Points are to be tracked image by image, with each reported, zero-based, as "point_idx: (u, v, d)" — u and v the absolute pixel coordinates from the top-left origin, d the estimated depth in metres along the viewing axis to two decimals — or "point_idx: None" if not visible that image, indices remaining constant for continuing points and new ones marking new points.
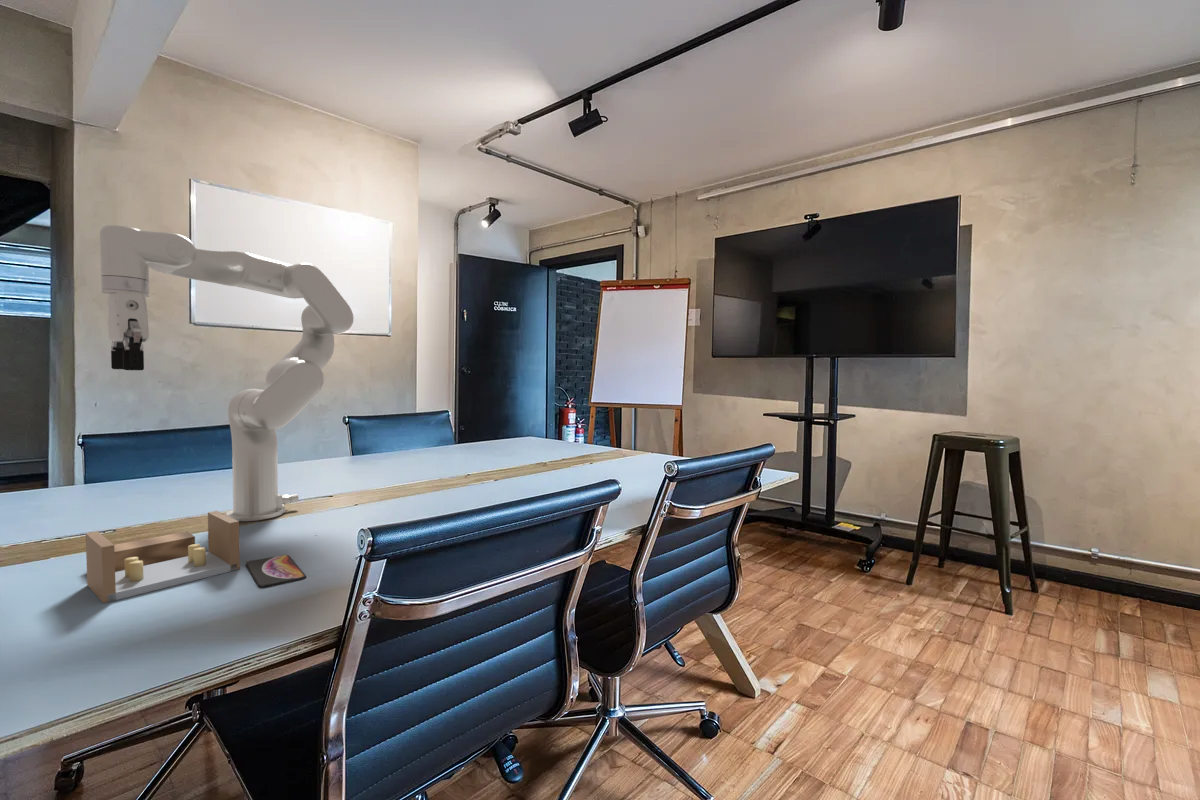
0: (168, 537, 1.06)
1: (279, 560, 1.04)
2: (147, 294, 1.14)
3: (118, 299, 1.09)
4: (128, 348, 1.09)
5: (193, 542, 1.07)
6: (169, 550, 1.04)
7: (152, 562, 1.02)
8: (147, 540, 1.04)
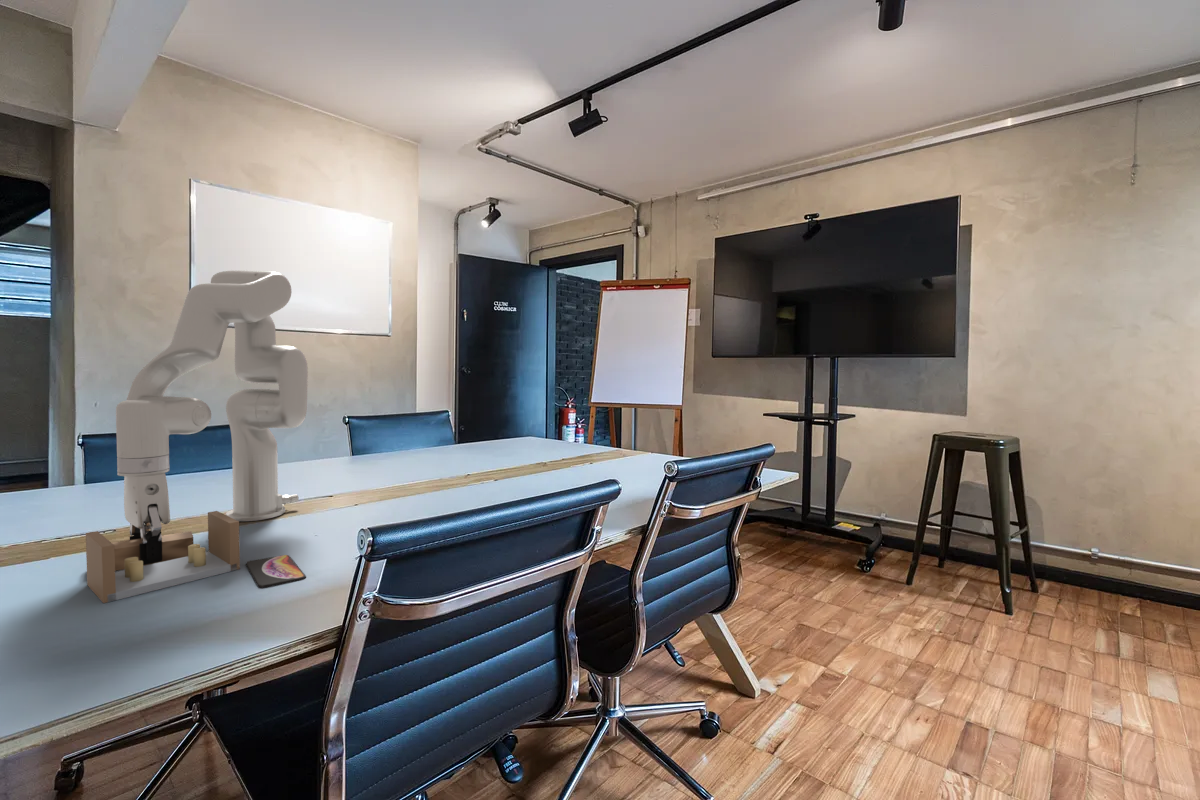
0: (169, 536, 1.06)
1: (279, 560, 1.04)
2: (167, 470, 1.03)
3: (137, 484, 0.98)
4: (145, 542, 0.99)
5: (191, 543, 1.06)
6: (167, 549, 1.03)
7: None
8: None
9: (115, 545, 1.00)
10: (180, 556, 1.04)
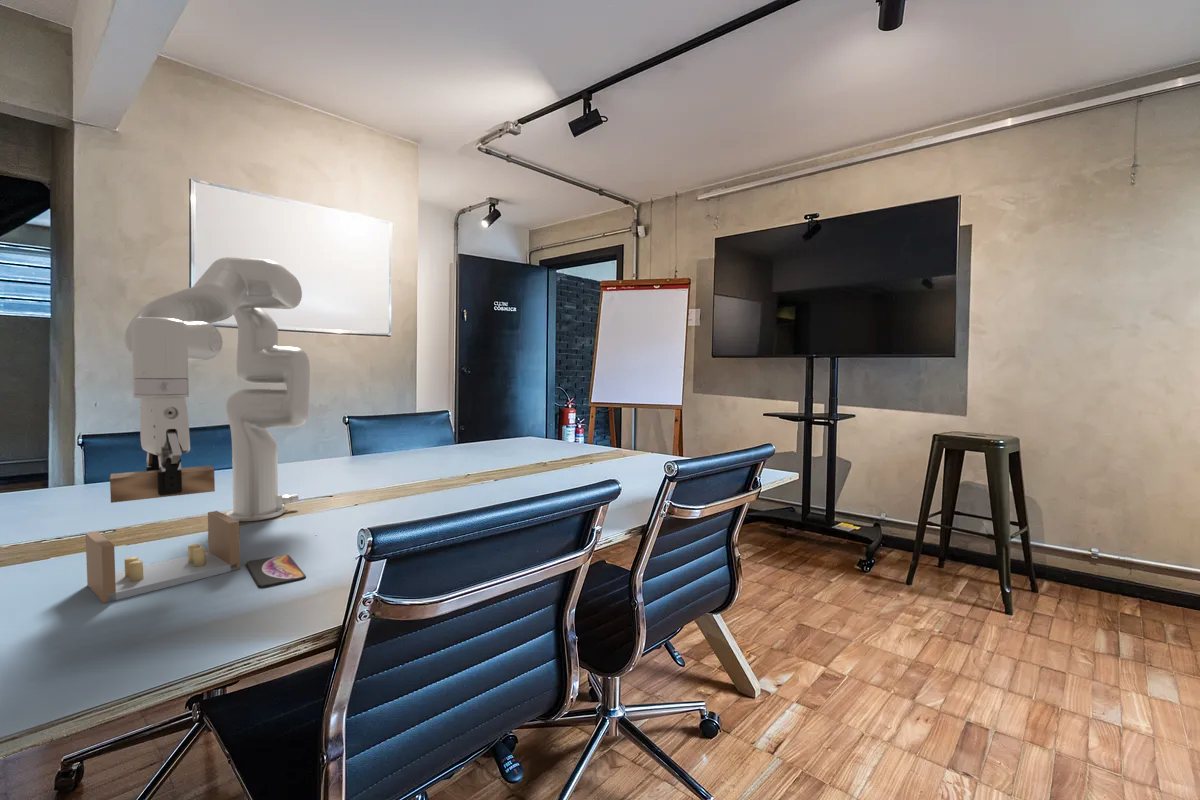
0: (188, 469, 0.98)
1: (279, 560, 1.04)
2: (187, 395, 0.96)
3: (154, 407, 0.90)
4: (164, 470, 0.92)
5: (212, 475, 0.98)
6: (186, 481, 0.95)
7: None
8: None
9: (131, 474, 0.92)
10: (200, 489, 0.97)
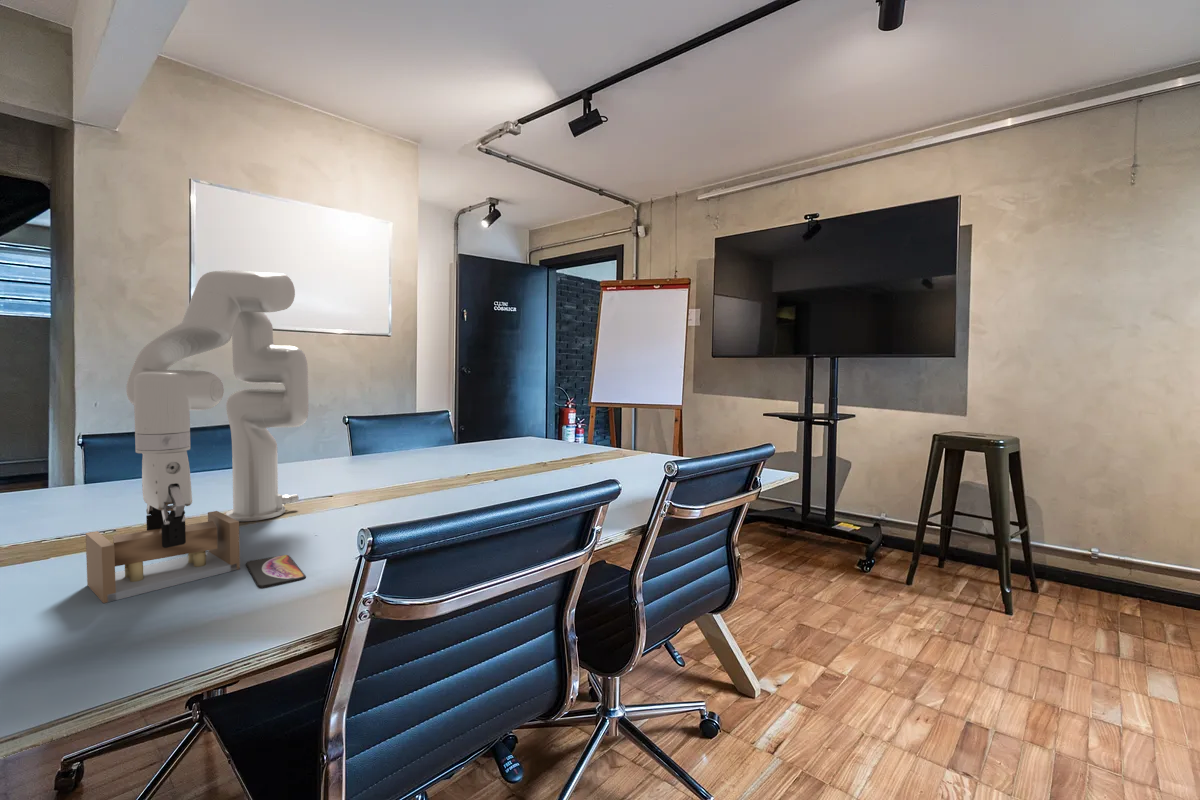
0: (190, 526, 0.99)
1: (279, 560, 1.04)
2: (189, 448, 0.96)
3: (157, 462, 0.91)
4: (168, 523, 0.91)
5: (215, 533, 0.99)
6: (189, 540, 0.96)
7: (171, 553, 0.94)
8: None
9: (133, 536, 0.93)
10: (203, 547, 0.98)
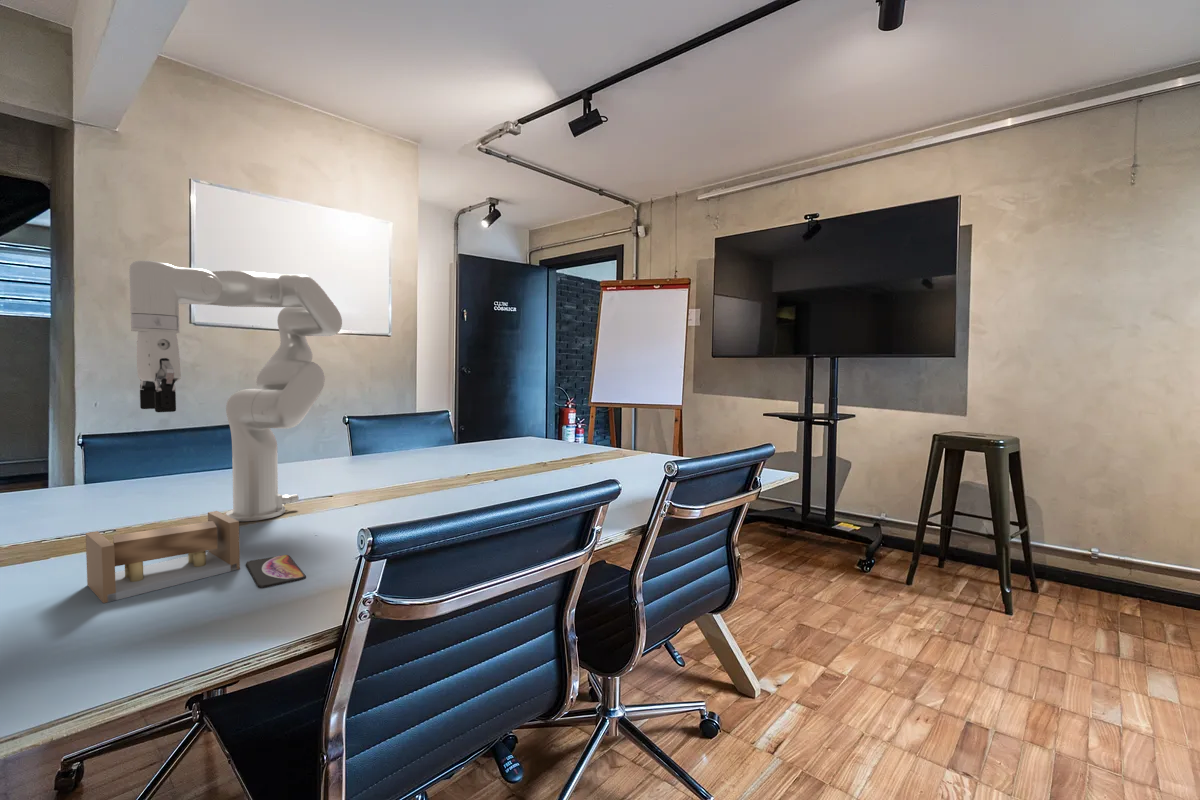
0: (190, 526, 0.99)
1: (279, 560, 1.04)
2: (178, 331, 1.09)
3: (149, 338, 1.04)
4: (160, 389, 1.04)
5: (215, 533, 0.99)
6: (189, 540, 0.96)
7: (171, 553, 0.94)
8: (168, 529, 0.97)
9: (133, 536, 0.93)
10: (203, 547, 0.98)
